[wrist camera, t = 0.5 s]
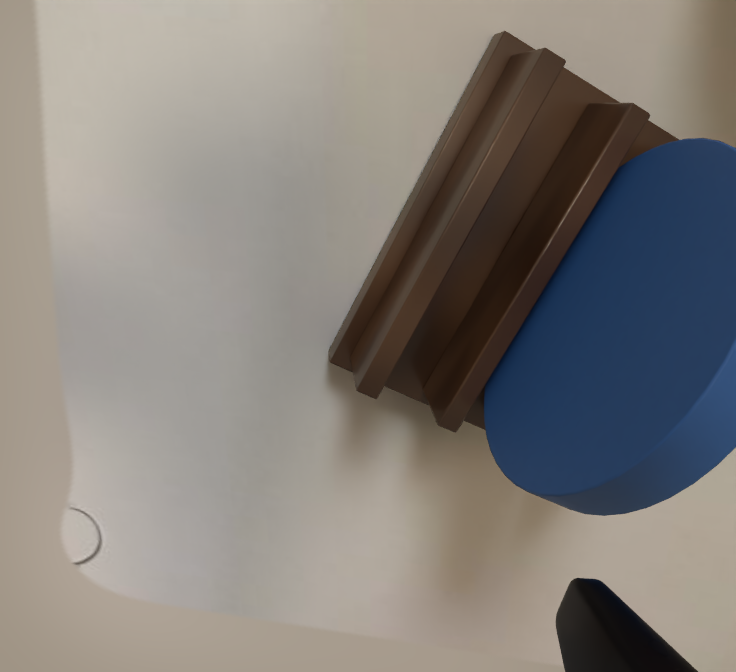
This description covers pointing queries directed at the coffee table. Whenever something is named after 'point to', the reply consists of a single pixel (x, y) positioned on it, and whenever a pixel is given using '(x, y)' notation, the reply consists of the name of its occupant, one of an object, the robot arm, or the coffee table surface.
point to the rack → (486, 228)
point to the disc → (629, 343)
